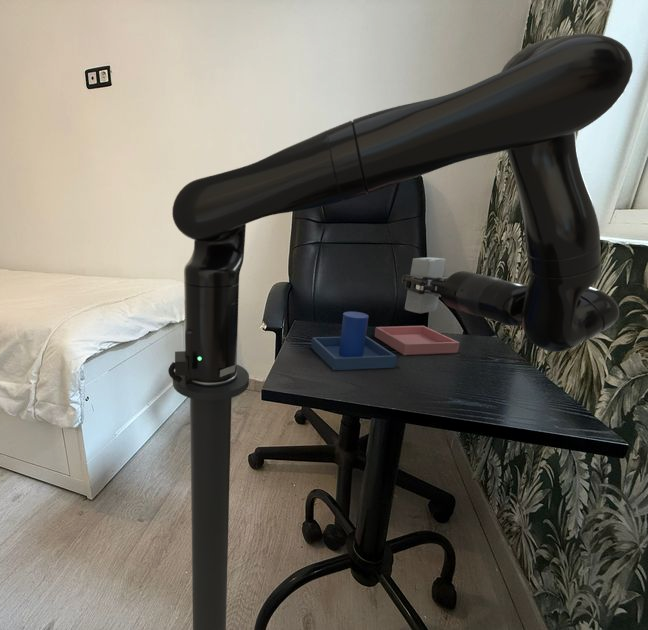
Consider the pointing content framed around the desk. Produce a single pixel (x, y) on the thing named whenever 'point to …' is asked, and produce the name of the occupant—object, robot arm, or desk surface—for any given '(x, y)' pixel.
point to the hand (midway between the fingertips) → (418, 279)
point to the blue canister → (353, 334)
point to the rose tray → (416, 340)
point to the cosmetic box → (431, 269)
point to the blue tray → (371, 358)
